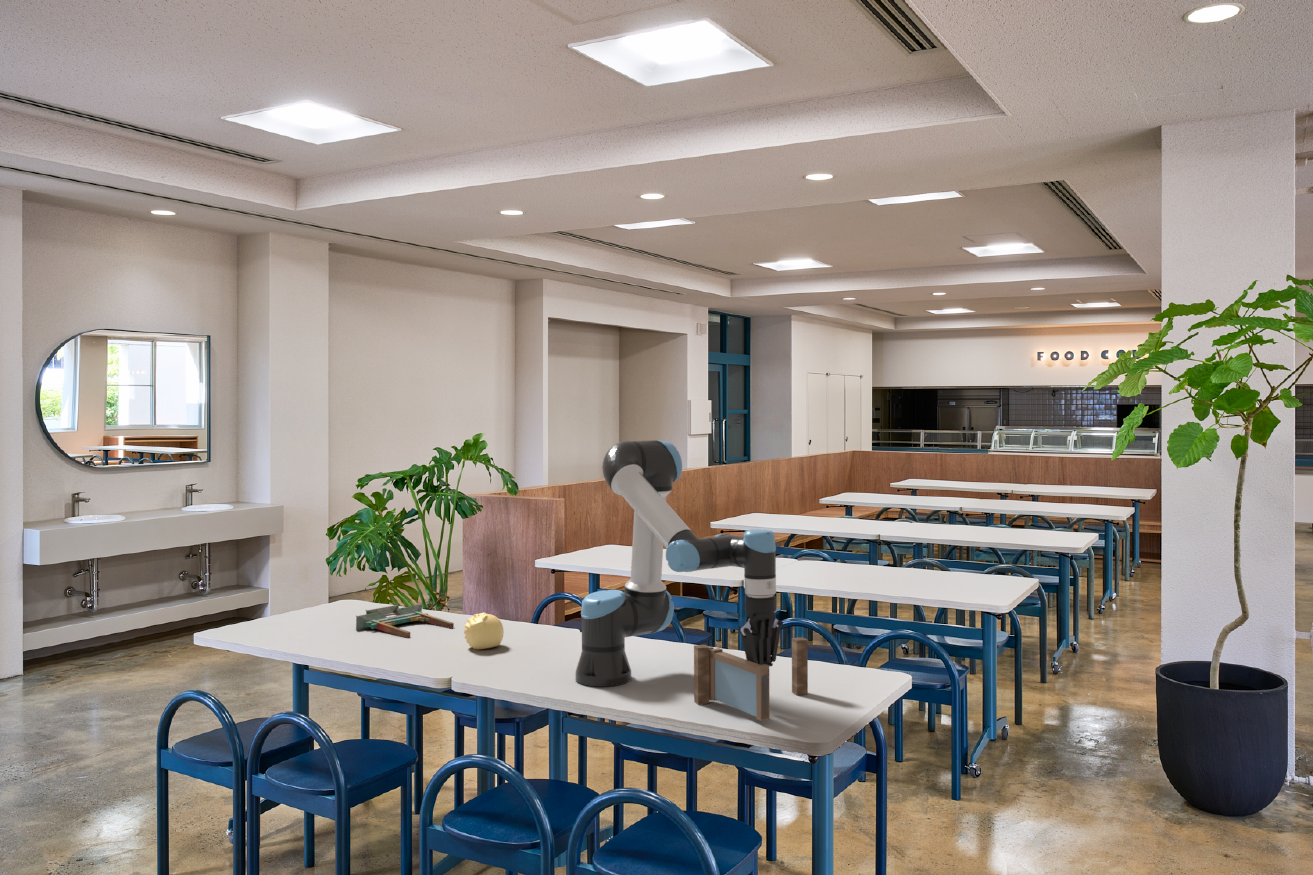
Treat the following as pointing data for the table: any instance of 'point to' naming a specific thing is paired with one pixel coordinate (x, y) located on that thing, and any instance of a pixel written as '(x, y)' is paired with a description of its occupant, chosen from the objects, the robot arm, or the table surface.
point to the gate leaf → (740, 683)
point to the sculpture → (483, 631)
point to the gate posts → (703, 670)
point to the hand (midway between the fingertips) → (762, 692)
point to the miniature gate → (396, 619)
